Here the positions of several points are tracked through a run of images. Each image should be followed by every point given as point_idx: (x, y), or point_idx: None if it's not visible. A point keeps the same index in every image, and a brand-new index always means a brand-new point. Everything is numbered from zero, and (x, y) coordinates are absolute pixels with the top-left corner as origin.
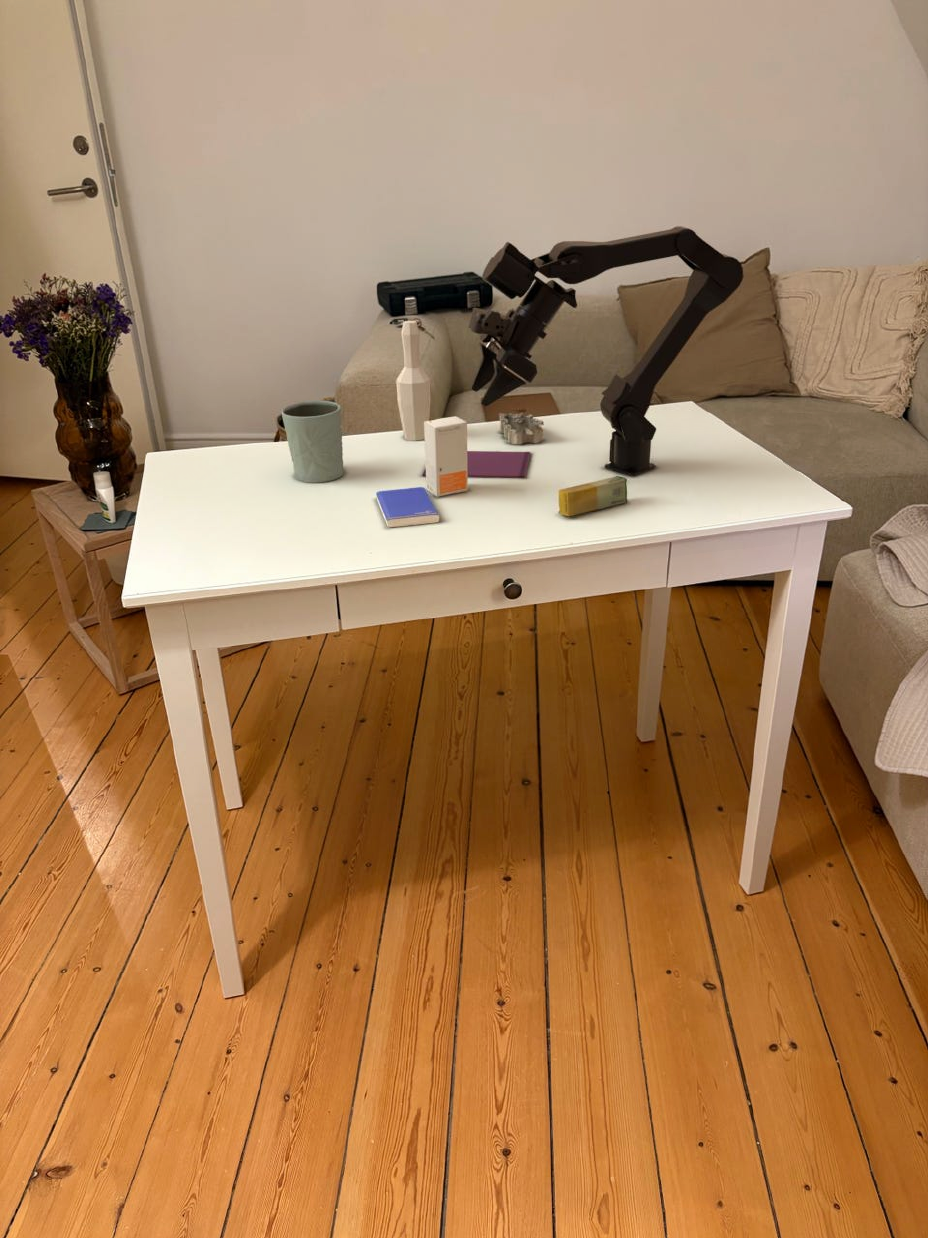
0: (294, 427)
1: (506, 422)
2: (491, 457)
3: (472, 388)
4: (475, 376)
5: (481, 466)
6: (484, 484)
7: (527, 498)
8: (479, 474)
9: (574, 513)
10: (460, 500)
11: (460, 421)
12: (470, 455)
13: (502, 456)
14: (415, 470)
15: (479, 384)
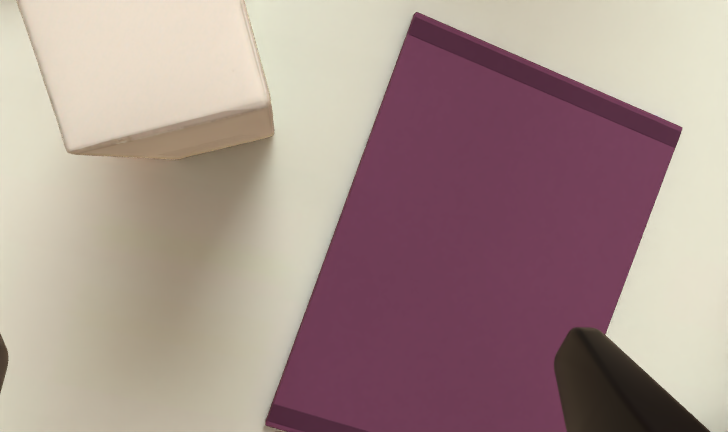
0: None
1: None
2: (525, 338)
3: (570, 334)
4: (689, 421)
5: (433, 276)
6: (240, 245)
7: (20, 382)
8: (339, 247)
9: None
10: None
11: (95, 103)
12: (577, 260)
13: (524, 384)
14: (493, 2)
15: (584, 421)
